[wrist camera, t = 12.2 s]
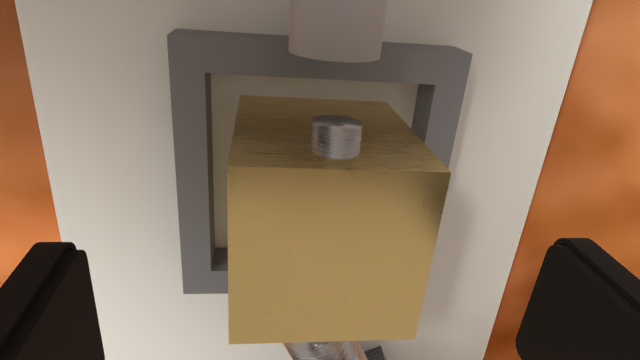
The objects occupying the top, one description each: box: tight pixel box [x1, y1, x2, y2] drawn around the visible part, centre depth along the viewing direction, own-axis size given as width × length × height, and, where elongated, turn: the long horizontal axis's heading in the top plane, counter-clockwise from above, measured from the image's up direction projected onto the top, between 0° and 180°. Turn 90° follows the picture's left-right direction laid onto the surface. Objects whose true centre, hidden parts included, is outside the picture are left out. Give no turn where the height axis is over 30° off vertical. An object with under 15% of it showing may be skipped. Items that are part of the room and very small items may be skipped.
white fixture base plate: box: [15, 0, 593, 360], centre depth 15 cm, size 28×18×6 cm, turn 176°
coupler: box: [227, 95, 451, 345], centre depth 14 cm, size 6×5×6 cm
